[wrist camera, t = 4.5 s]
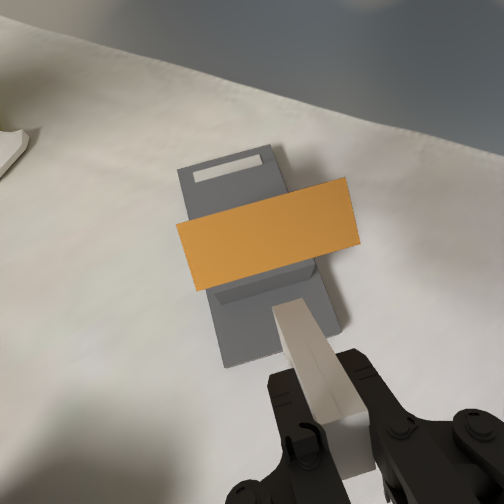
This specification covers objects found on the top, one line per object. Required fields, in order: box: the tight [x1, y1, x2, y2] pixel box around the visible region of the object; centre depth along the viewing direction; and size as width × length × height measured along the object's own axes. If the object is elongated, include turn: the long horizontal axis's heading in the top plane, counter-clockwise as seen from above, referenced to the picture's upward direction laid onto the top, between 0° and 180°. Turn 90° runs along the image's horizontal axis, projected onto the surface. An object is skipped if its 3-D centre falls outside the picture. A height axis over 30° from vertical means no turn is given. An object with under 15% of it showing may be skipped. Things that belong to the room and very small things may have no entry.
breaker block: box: [177, 145, 342, 368], centre depth 29 cm, size 20×10×6 cm, turn 16°
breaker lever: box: [176, 177, 361, 291], centre depth 19 cm, size 3×7×13 cm, turn 106°
